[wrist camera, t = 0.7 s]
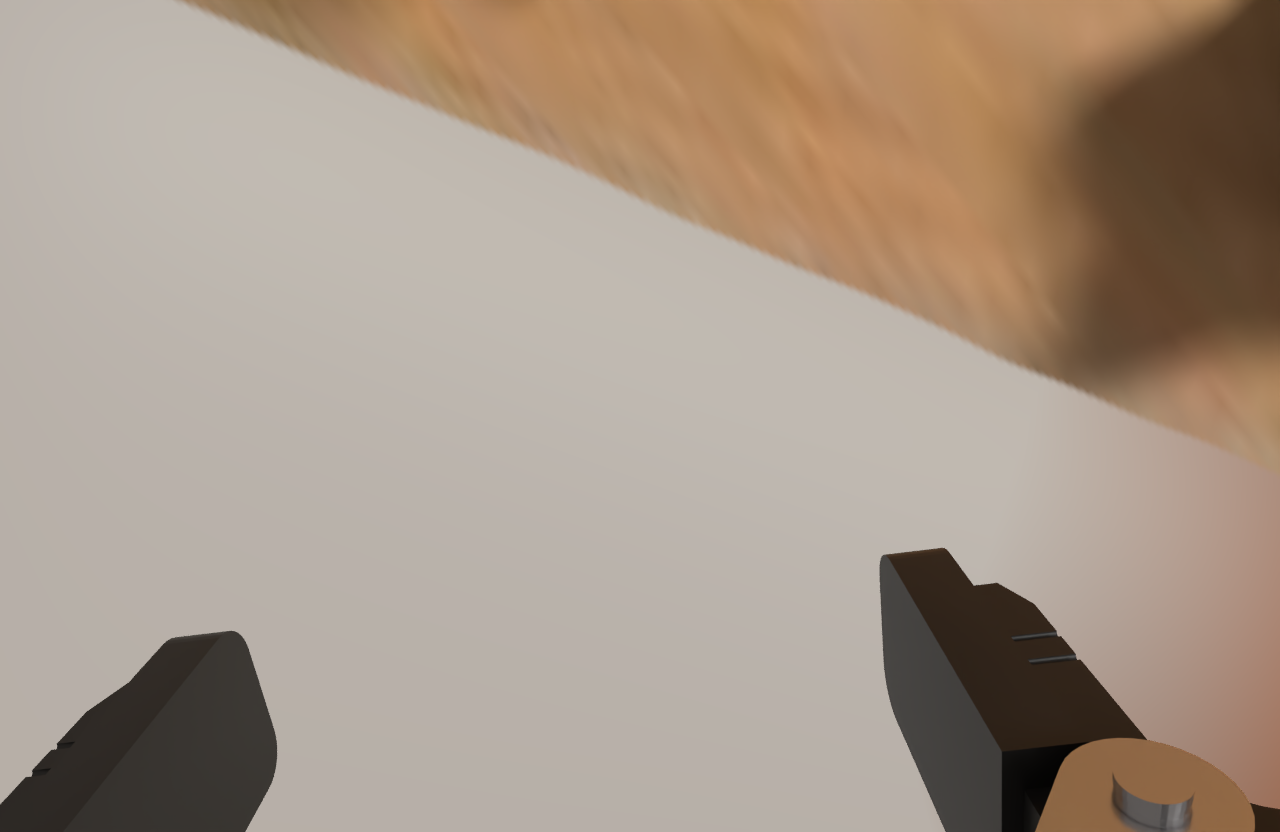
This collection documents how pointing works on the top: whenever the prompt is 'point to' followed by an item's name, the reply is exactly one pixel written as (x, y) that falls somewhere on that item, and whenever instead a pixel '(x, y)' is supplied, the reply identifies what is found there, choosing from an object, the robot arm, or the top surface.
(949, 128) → the top surface
